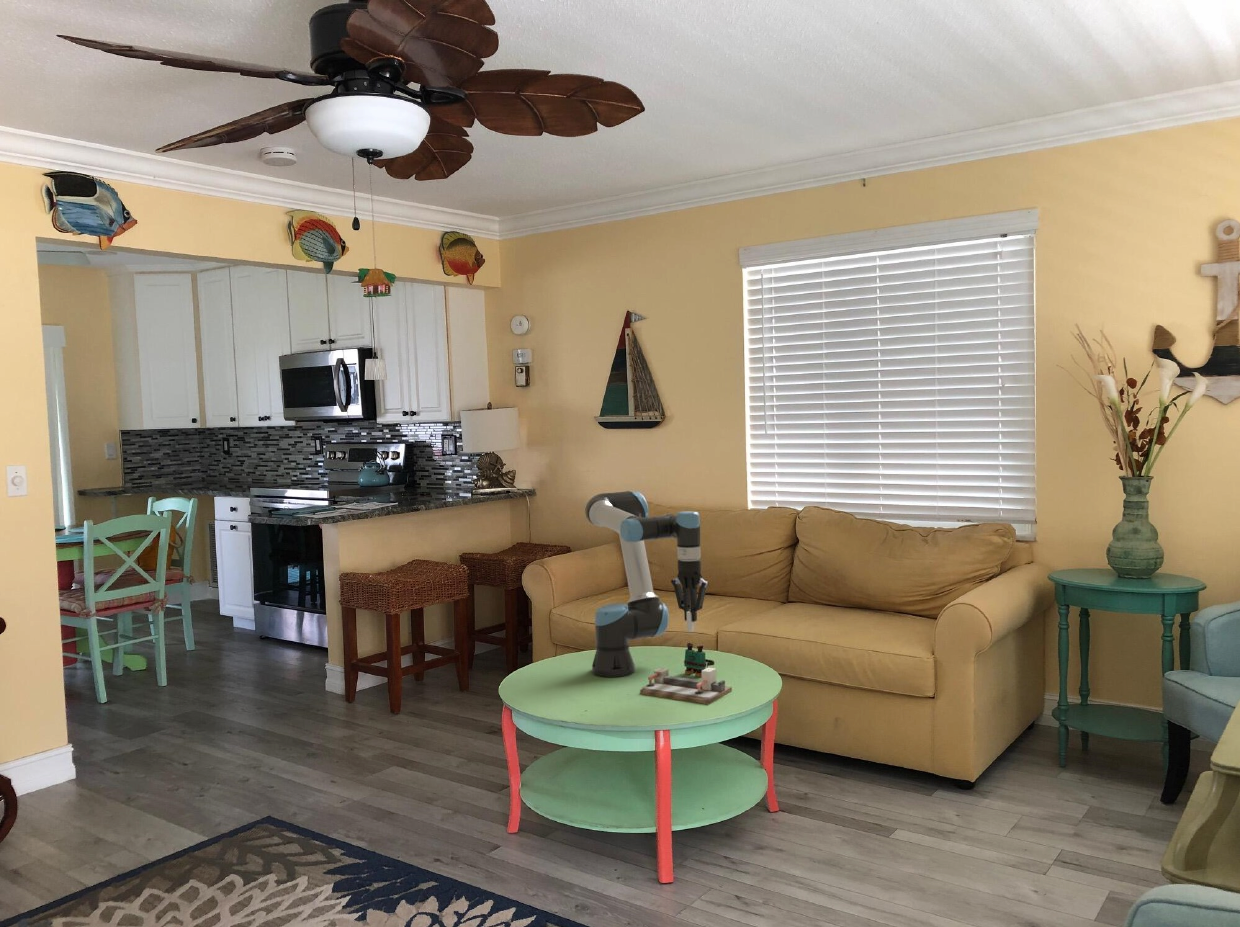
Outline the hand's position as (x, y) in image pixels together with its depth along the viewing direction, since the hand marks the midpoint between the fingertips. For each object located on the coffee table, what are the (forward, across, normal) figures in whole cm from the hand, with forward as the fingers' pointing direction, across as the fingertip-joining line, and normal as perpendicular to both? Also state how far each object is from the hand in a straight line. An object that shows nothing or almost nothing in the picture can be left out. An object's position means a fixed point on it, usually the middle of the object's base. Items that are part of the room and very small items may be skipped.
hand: (691, 630), depth 307 cm
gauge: (+20, -1, -3) cm, 20 cm away
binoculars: (+20, -8, +19) cm, 28 cm away
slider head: (+18, +6, -3) cm, 19 cm away
